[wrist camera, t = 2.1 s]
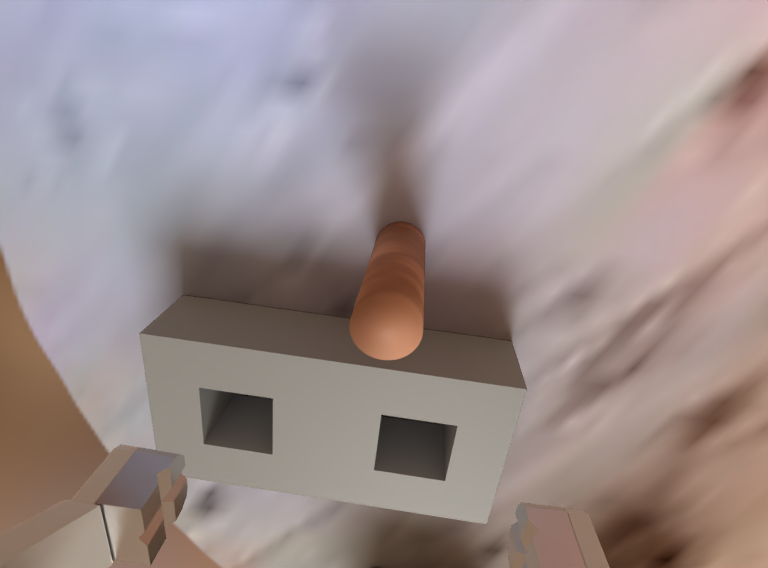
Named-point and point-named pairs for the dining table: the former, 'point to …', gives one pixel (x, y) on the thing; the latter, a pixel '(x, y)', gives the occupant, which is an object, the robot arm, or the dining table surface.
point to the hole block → (331, 408)
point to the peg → (391, 295)
